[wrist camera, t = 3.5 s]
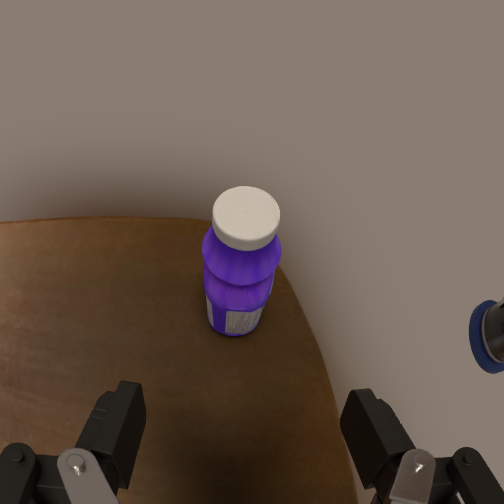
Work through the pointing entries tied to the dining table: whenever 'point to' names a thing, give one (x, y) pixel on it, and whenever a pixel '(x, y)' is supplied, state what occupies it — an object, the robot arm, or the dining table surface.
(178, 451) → the dining table surface
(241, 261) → the bottle
